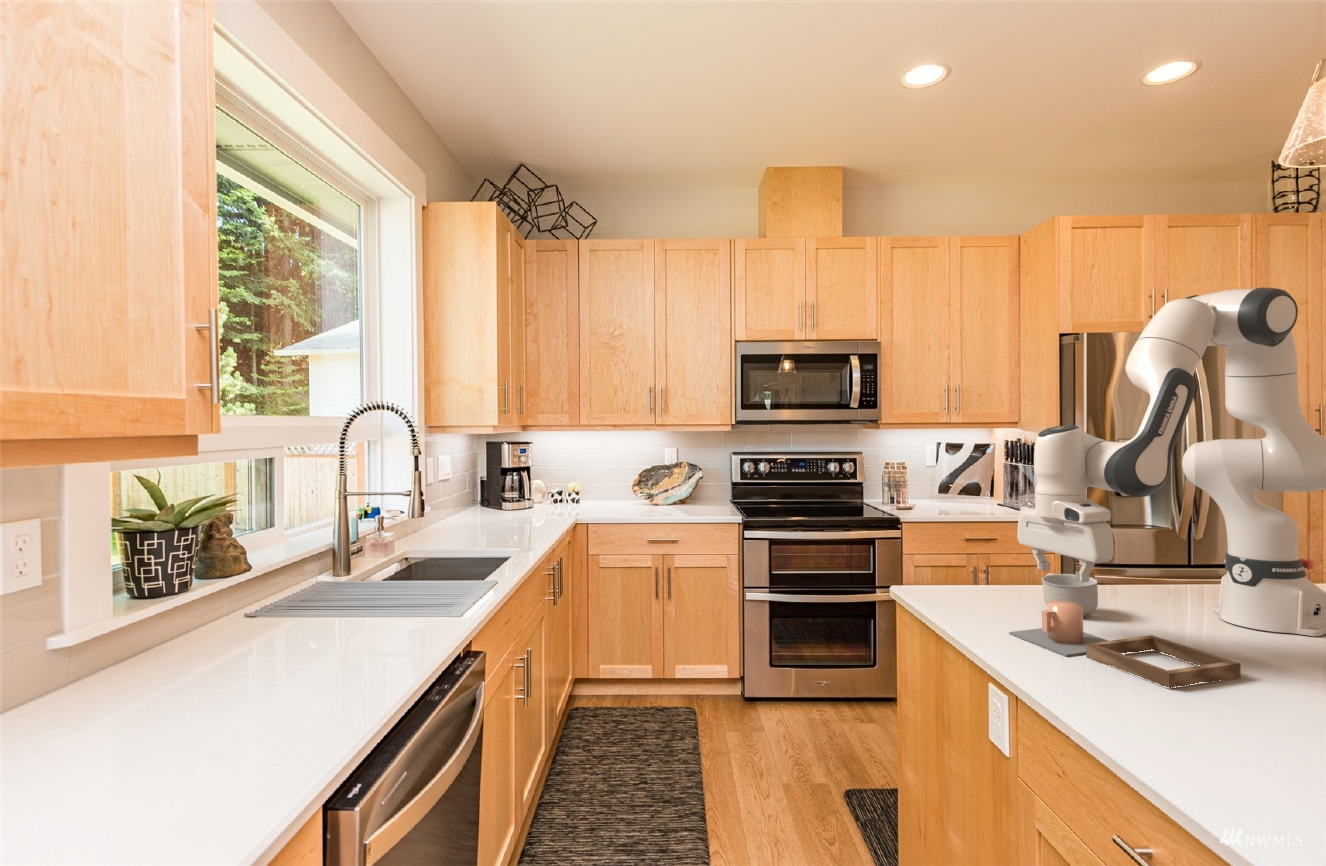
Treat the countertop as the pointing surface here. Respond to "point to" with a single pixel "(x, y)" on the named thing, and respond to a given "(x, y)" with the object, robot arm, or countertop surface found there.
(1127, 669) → the tray
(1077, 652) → the coaster
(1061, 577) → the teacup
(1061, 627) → the mug
